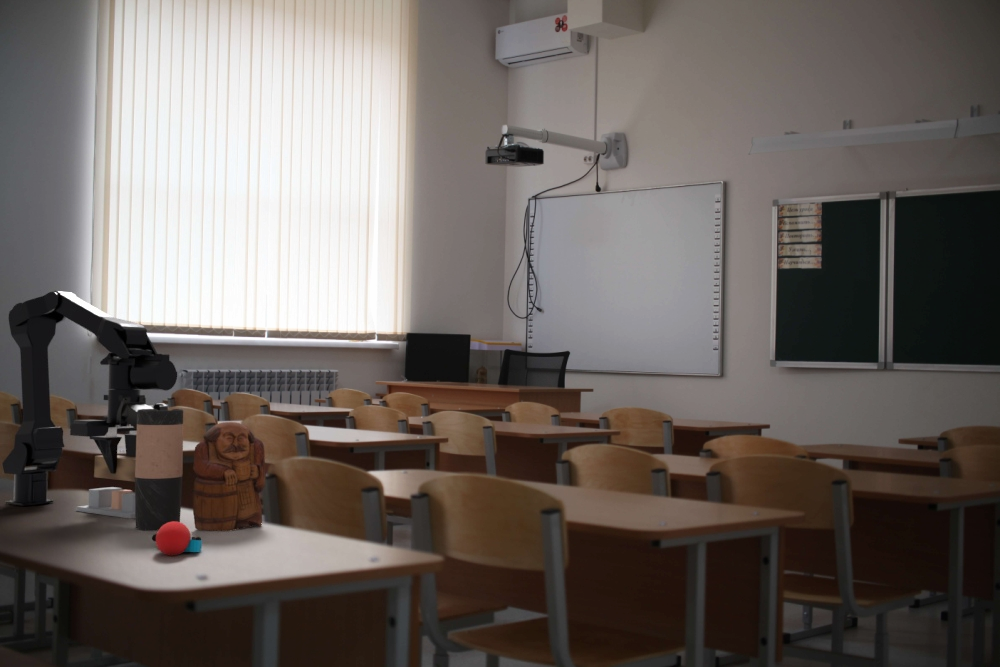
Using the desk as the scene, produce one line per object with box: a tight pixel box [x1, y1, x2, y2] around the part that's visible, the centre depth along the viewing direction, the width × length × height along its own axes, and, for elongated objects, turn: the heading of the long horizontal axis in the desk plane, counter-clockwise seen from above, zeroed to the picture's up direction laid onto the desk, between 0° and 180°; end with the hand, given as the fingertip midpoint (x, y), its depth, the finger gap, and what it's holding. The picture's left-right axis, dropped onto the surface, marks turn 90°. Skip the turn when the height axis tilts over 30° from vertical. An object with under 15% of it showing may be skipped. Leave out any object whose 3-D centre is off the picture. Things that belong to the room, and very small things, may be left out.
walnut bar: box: [93, 454, 136, 483], centre depth 185 cm, size 12×4×4 cm, turn 57°
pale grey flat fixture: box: [75, 486, 135, 519], centre depth 186 cm, size 16×9×4 cm, turn 57°
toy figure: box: [151, 521, 203, 556], centre depth 147 cm, size 8×5×15 cm
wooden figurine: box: [192, 421, 266, 532], centre depth 169 cm, size 12×6×18 cm, turn 135°
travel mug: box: [134, 408, 184, 532], centre depth 168 cm, size 8×8×20 cm
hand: (122, 472), depth 185 cm, fingers closed on walnut bar, 3 cm apart
